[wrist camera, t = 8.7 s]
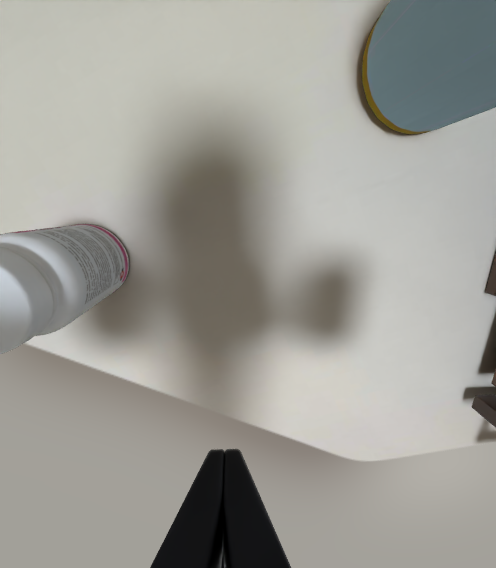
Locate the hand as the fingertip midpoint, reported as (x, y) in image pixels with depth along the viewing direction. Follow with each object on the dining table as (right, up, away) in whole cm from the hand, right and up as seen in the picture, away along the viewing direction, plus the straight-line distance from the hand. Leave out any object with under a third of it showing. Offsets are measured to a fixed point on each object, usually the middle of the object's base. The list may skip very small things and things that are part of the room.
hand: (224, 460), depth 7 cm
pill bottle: (-10, +7, +10) cm, 15 cm away
